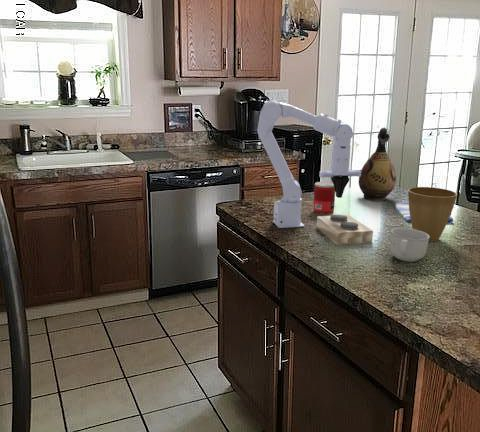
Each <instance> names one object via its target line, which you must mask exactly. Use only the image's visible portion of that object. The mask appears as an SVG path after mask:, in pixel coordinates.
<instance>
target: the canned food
mask: <svg viewBox="0 0 480 432" xmlns="http://www.w3.org/2000/svg"><path fill="white" fill-rule="evenodd" d="M335 199H336V192H335V188H334V185H333V182H332V181H316V182H315V183H314V189H313V211H314V212H315V213H317V214H321V215H322V214H323V215H328V214H329V215H330V214H332V213H334V211H335V201H336V200H335Z"/></svg>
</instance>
